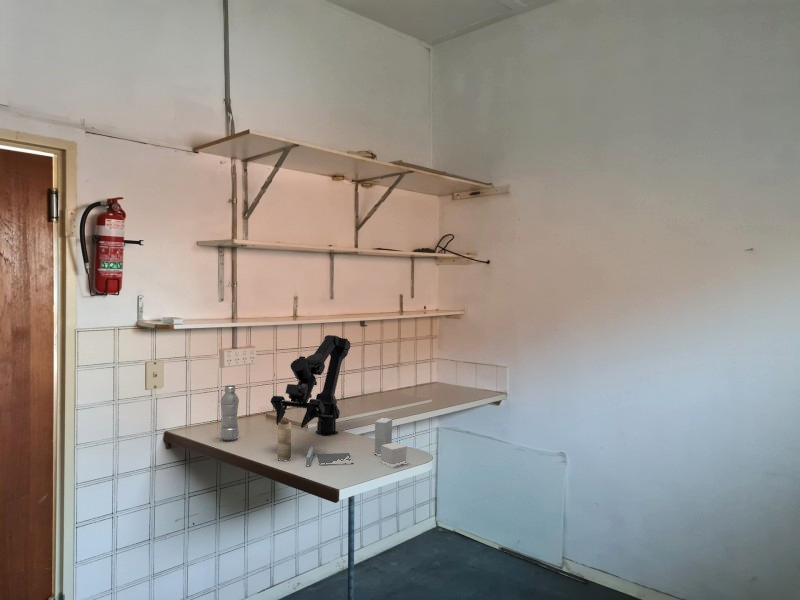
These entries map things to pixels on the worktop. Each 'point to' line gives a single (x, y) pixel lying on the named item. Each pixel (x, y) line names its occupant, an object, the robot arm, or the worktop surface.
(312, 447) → the rail
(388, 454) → the grey cube
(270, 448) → the worktop surface
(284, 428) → the mill
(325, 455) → the mat
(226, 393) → the plastic bottle
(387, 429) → the skincare box
